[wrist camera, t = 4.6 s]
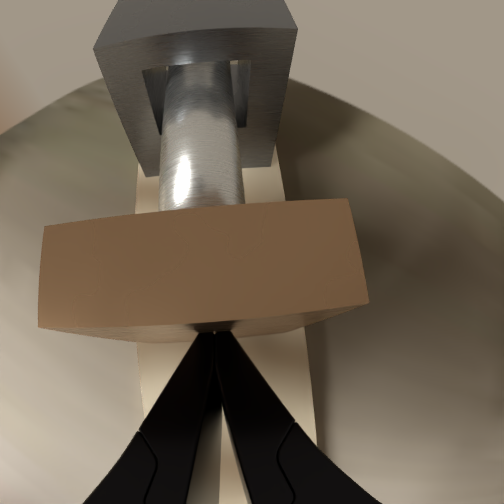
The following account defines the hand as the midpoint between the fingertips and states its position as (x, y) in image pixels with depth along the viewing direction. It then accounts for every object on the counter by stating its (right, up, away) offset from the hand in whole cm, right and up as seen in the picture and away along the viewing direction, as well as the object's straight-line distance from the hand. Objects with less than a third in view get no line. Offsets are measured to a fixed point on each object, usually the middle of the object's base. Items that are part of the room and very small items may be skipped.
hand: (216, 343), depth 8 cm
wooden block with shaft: (-1, +4, +7) cm, 9 cm away
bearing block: (-2, +9, +9) cm, 13 cm away
